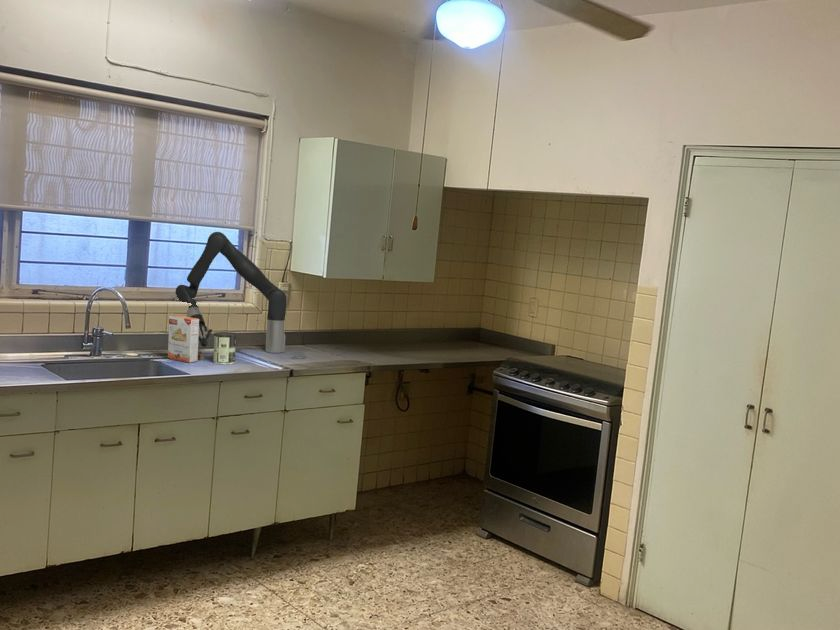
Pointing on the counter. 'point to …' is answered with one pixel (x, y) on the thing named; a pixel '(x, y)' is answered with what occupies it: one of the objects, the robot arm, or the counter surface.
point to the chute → (200, 356)
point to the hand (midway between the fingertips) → (205, 345)
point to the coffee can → (224, 347)
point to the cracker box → (183, 338)
